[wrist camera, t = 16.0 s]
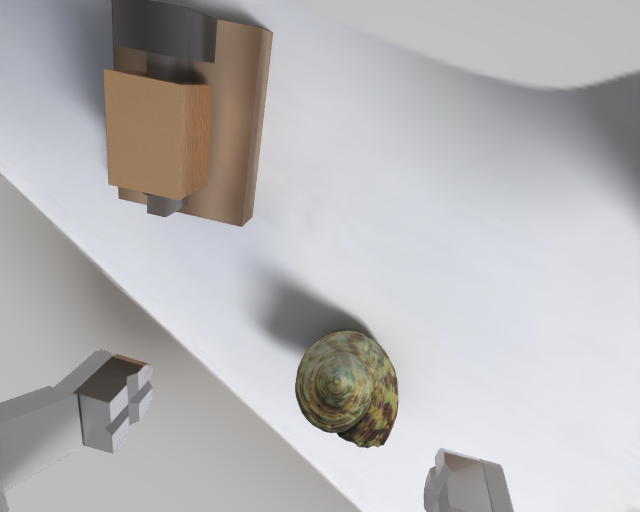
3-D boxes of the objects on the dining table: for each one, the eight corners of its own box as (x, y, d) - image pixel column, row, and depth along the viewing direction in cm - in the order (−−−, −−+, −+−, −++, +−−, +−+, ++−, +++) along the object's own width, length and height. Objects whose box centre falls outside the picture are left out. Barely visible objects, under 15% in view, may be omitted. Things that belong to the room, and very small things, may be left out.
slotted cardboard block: (213, 85, 31) (182, 85, 26) (206, 188, 34) (178, 204, 30) (145, 71, 31) (103, 68, 27) (145, 174, 35) (108, 188, 30)
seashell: (298, 389, 47) (276, 462, 37) (313, 307, 42) (291, 368, 33) (388, 411, 46) (387, 492, 37) (413, 329, 41) (419, 399, 32)
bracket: (272, 32, 32) (238, 17, 25) (252, 216, 39) (220, 246, 32) (134, 6, 33) (62, -16, 26) (137, 190, 40) (80, 214, 33)
